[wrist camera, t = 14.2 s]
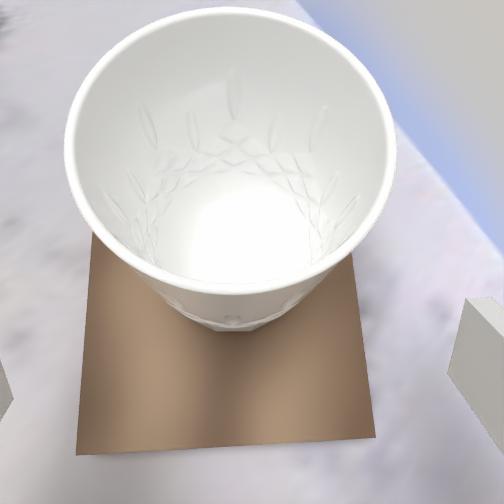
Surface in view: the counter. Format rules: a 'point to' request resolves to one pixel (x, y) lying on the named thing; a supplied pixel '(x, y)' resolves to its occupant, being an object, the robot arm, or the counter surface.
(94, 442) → the walnut board
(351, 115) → the white cup
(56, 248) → the counter surface
